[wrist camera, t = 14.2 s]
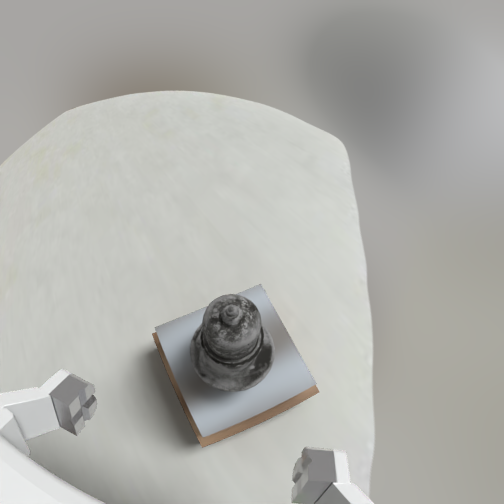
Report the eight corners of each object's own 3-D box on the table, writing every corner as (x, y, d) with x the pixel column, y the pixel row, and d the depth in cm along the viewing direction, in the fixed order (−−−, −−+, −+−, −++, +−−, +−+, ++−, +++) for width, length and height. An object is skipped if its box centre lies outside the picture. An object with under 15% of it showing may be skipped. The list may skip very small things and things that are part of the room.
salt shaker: (187, 335, 24) (152, 266, 13) (255, 317, 25) (272, 236, 15) (207, 403, 21) (182, 393, 10) (279, 382, 22) (320, 350, 12)
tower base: (162, 345, 32) (140, 321, 24) (258, 305, 35) (265, 270, 27) (207, 442, 26) (196, 452, 19) (307, 395, 30) (332, 387, 22)
